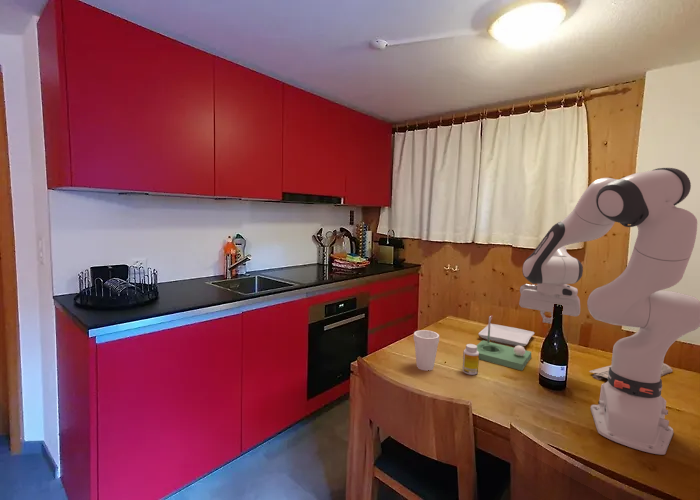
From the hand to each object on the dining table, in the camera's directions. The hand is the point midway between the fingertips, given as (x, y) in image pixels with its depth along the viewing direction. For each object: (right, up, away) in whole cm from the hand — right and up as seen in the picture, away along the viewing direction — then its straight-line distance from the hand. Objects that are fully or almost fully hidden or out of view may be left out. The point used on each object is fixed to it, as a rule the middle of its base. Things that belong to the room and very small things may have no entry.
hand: (547, 322), depth 135 cm
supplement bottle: (-30, -18, -3) cm, 36 cm away
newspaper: (+31, -20, -1) cm, 37 cm away
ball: (-7, -13, +7) cm, 16 cm away
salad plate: (-1, -15, +34) cm, 37 cm away
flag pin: (-14, -13, +22) cm, 29 cm away
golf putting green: (-13, -17, +12) cm, 24 cm away
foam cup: (-47, -18, +1) cm, 50 cm away
